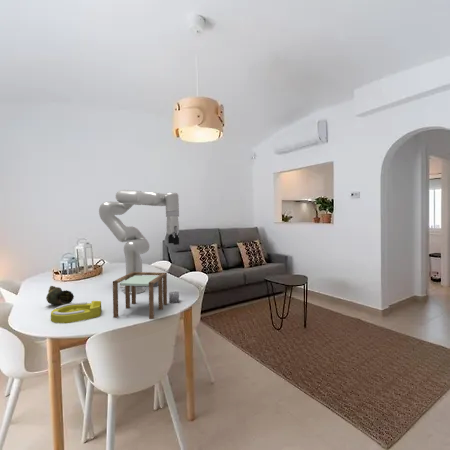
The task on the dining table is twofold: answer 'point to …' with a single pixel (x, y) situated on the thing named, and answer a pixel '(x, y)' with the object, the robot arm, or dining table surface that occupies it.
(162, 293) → the frame
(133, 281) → the pale green flat block
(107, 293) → the dining table surface
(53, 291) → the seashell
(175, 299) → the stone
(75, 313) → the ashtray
